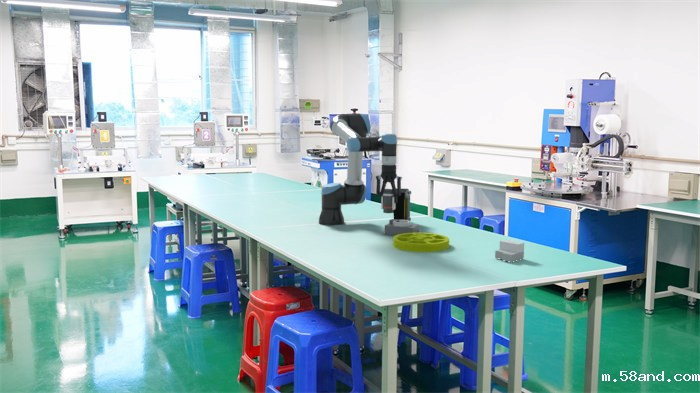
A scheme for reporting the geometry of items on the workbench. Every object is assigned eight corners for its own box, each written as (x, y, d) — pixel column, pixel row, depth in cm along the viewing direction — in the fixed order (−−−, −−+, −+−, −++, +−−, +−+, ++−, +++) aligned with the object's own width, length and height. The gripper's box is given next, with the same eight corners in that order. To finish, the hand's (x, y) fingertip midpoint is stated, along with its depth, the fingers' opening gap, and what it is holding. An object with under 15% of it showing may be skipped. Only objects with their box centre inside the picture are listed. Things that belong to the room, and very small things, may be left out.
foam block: (492, 260, 286) (493, 242, 285) (505, 256, 293) (505, 239, 292) (511, 264, 279) (512, 246, 278) (523, 260, 286) (524, 242, 285)
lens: (381, 212, 324) (381, 189, 322) (385, 211, 329) (385, 188, 327) (391, 213, 322) (391, 190, 320) (394, 211, 327) (395, 189, 325)
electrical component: (407, 227, 360) (408, 192, 357) (390, 226, 362) (390, 192, 359) (411, 221, 377) (411, 188, 374) (394, 221, 379) (394, 188, 376)
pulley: (383, 243, 320) (383, 233, 320) (430, 238, 331) (431, 229, 331) (409, 255, 295) (409, 244, 294) (460, 249, 306) (460, 239, 305)
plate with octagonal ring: (384, 234, 339) (384, 221, 338) (391, 231, 349) (391, 218, 348) (412, 237, 333) (413, 224, 332) (419, 233, 343) (419, 220, 342)
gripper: (369, 164, 322) (369, 208, 326) (403, 165, 315) (402, 211, 318) (374, 162, 329) (374, 206, 332) (408, 164, 322) (407, 209, 325)
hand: (388, 208), depth 325 cm, fingers closed on lens, 5 cm apart
